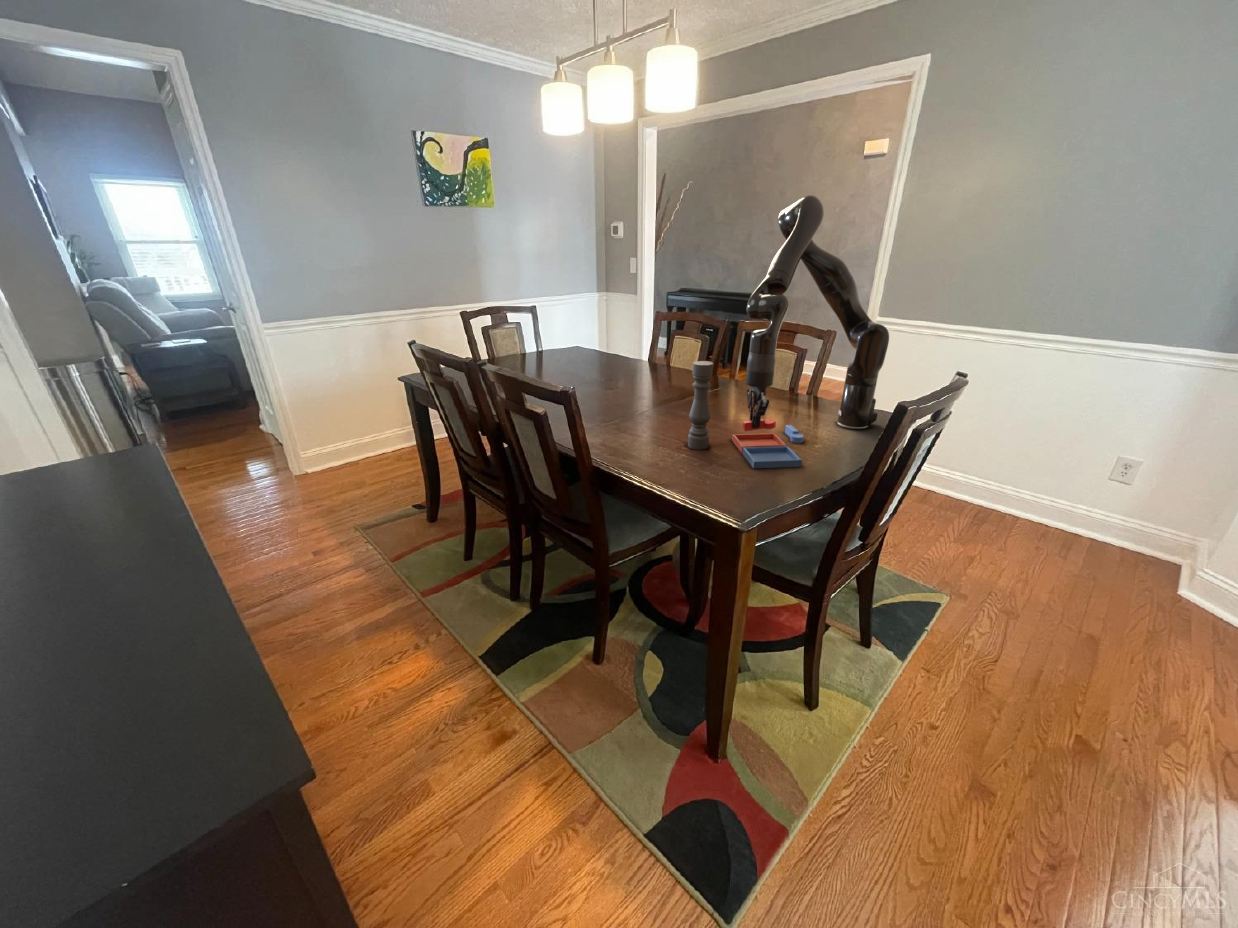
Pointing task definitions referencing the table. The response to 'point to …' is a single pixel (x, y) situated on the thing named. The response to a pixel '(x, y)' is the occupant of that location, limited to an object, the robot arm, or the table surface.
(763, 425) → the red stepped block
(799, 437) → the blue stepped block
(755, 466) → the blue tray
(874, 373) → the robot arm
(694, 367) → the candle holder
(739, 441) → the red tray
